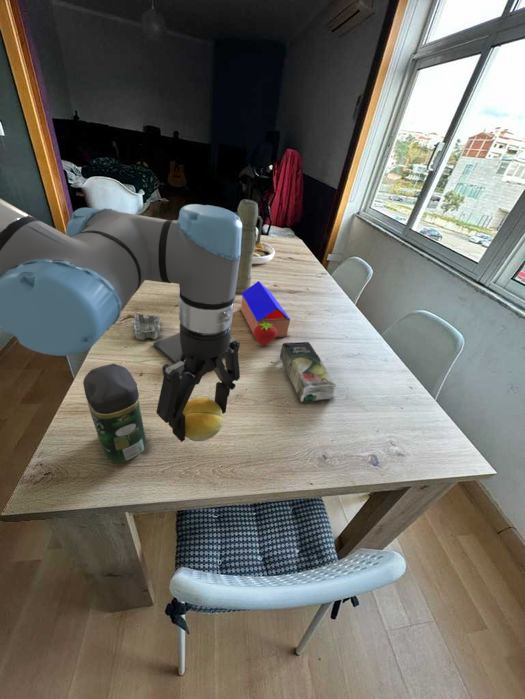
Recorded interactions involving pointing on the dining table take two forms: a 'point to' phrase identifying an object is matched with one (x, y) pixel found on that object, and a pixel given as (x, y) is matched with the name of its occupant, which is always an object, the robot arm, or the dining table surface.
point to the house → (263, 309)
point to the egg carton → (146, 326)
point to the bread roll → (202, 419)
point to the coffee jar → (115, 411)
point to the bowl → (262, 253)
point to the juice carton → (306, 372)
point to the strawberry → (265, 333)
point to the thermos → (247, 242)
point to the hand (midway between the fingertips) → (200, 421)
